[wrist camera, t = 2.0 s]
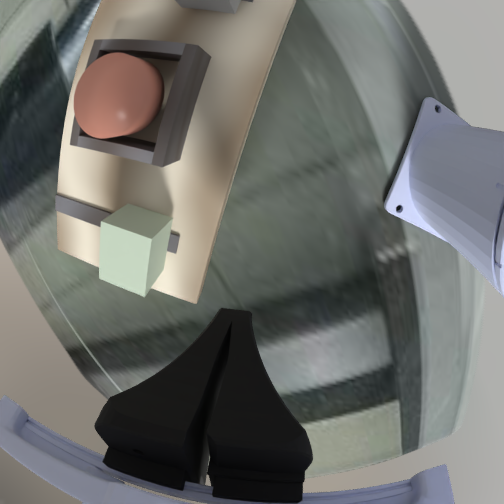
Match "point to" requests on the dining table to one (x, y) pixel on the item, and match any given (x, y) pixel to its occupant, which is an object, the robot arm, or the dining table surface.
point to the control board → (170, 128)
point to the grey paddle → (211, 5)
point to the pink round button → (118, 96)
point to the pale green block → (133, 248)
